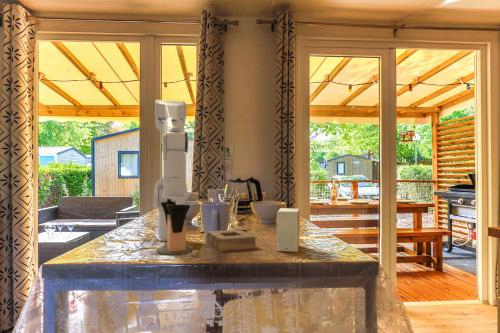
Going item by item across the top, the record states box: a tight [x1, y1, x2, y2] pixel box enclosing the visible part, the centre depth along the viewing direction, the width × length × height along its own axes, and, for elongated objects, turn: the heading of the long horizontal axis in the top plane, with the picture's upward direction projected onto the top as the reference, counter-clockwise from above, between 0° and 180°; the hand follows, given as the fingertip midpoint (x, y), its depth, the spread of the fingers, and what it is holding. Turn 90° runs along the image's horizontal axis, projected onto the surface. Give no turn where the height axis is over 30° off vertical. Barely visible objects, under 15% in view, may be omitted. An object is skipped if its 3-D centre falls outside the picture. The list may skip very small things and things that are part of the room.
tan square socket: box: [206, 228, 256, 252], centre depth 95 cm, size 12×10×3 cm
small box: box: [276, 207, 300, 253], centre depth 91 cm, size 8×6×10 cm
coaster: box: [155, 245, 192, 256], centre depth 87 cm, size 9×9×1 cm
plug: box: [166, 215, 187, 251], centre depth 87 cm, size 4×4×9 cm
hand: (174, 230), depth 87 cm, fingers open, 7 cm apart
